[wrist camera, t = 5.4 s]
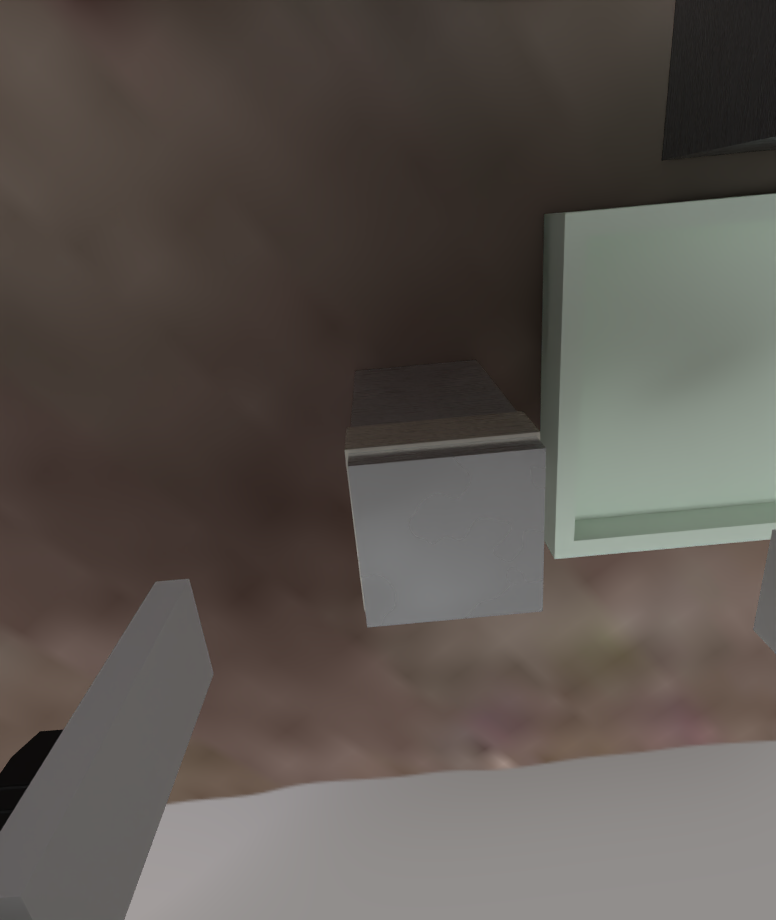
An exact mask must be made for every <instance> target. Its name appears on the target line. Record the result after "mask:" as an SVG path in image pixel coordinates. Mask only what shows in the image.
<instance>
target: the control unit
mask: <svg viewBox="0 0 776 920" xmlns="http://www.w3.org/2000/svg"><path fill="white" fill-rule="evenodd" d="M767 150H776V0H676V7H675V19H674V30H673V41H672V53H671V64H670V75H669V87H668V98H667V109H666V121H665V132H664V143H663V155H662V160H670V159H681V158H691V157H702V156H713V155H724V154H734V153H745V152H756V151H767Z"/></svg>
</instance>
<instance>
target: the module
mask: <svg viewBox="0 0 776 920" xmlns="http://www.w3.org/2000/svg"><path fill="white" fill-rule="evenodd" d="M344 451H345V459H346V467H347V475H348V483H349V491H350V499H351V507H352V516H353V524H354V532H355V540H356V548H357V556H358V564H359V572H360V580H361V588H362V596H363V604H364V611H365V613H366V621H367V627H377V626H388V625H399V624H410V623H421V622H431V621H442V620H453V619H464V618H475V617H486V616H497V615H508V614H518V613H529V612H540V611H543V567H544V523H545V479H546V447H545V446H544V445H543V444H542V442H541V441H540V431H539V430H538V429H537V427H536V426H535V425H534V424H533V423H532V421H531V420H530V419H529V418H528V417H527V415H526V414H525V413H524V412H523V411H520V412H517V411H516V410H515V408H514V407H513V406H512V405H511V403H510V402H509V401H508V399H507V398H506V397H505V396H504V394H503V393H502V392H501V391H500V389H499V388H498V387H497V386H496V384H495V383H494V382H493V381H492V379H491V378H490V377H489V376H488V374H487V373H486V372H485V371H484V369H483V368H482V367H481V366H480V364H479V363H478V362H477V360H468V361H457V362H446V363H436V364H425V365H414V366H403V367H392V368H382V369H371V370H360V371H355V378H354V391H353V403H352V416H351V427H347V429H346V439H345V449H344Z"/></svg>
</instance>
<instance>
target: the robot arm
mask: <svg viewBox="0 0 776 920" xmlns="http://www.w3.org/2000/svg"><path fill="white" fill-rule="evenodd" d="M753 630H754V631H755V632H756V633H757V634H758V635H759V637H760V638H761V639H762V640H763V641H764V642H765V643H766V644H767V645H768V646H769V647H770V648H771V649H772V650H773V651H774V653H775V654H776V529H773V530H772V534H771V539H770V544H769V550H768V555H767V560H766V565H765V570H764V576H763V581H762V586H761V591H760V596H759V602H758V607H757V612H756V617H755V623H754V628H753ZM213 674H214V673H213V669H212V665H211V662H210V658H209V654H208V650H207V646H206V642H205V638H204V634H203V630H202V627H201V623H200V619H199V615H198V611H197V607H196V603H195V599H194V595H193V592H192V588H191V584H190V580H189V579H180V580H168V581H156V582H155V583H154V585H153V587H152V588H151V590H150V592H149V593H148V595H147V596H146V598H145V600H144V601H143V603H142V604H141V606H140V608H139V609H138V611H137V612H136V614H135V616H134V617H133V619H132V620H131V622H130V624H129V625H128V627H127V629H126V630H125V632H124V633H123V635H122V637H121V638H120V640H119V641H118V643H117V645H116V646H115V648H114V649H113V651H112V653H111V654H110V656H109V657H108V659H107V661H106V662H105V664H104V666H103V667H102V669H101V670H100V672H99V674H98V675H97V677H96V678H95V680H94V682H93V683H92V685H91V686H90V688H89V690H88V691H87V693H86V694H85V696H84V698H83V699H82V701H81V703H80V704H79V706H78V707H77V709H76V711H75V712H74V714H73V715H72V717H71V719H70V720H69V722H68V723H67V725H66V727H65V728H64V730H53V731H41V732H39V733H38V734H37V735H36V736H34V737H33V738H32V739H31V740H30V741H29V742H28V743H27V744H26V745H25V746H23V747H22V748H21V749H20V750H19V751H18V752H17V753H16V754H15V755H13V756H12V757H11V759H10V760H9V762H8V763H7V764H6V766H5V767H4V769H3V770H2V772H1V773H0V920H124V919H125V916H126V913H127V910H128V908H129V905H130V902H131V900H132V897H133V894H134V891H135V889H136V886H137V883H138V880H139V877H140V875H141V872H142V869H143V867H144V864H145V861H146V858H147V855H148V853H149V850H150V847H151V845H152V842H153V839H154V836H155V833H156V831H157V828H158V825H159V822H160V820H161V817H162V814H163V812H164V809H165V806H166V803H167V801H168V798H169V795H170V792H171V790H172V787H173V784H174V781H175V779H176V776H177V773H178V770H179V768H180V765H181V762H182V759H183V757H184V754H185V751H186V748H187V746H188V743H189V740H190V737H191V735H192V732H193V729H194V726H195V724H196V721H197V718H198V715H199V713H200V710H201V707H202V704H203V702H204V699H205V696H206V693H207V691H208V688H209V685H210V682H211V680H212V677H213Z"/></svg>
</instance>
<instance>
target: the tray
mask: <svg viewBox="0 0 776 920" xmlns="http://www.w3.org/2000/svg"><path fill="white" fill-rule="evenodd" d="M540 441H541V442H542V444H543V445H544V446H545V447H546V479H545V523H544V541H545V543H546V545H547V546H548V548H549V550H550V552H551V554H552V555H553V557H554V559H560V558H571V557H582V556H593V555H604V554H615V553H626V552H637V551H648V550H659V549H669V548H680V547H691V546H702V545H713V544H724V543H735V542H746V541H757V540H768V539H771V534H772V530H773V529H776V193H766V194H755V195H745V196H734V197H723V198H712V199H702V200H691V201H680V202H669V203H659V204H648V205H637V206H626V207H615V208H605V209H594V210H583V211H572V212H562V213H551V214H544V244H543V299H542V355H541V411H540Z"/></svg>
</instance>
